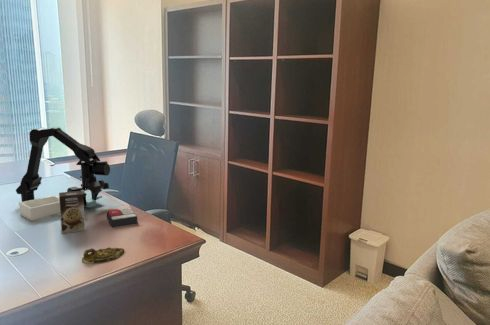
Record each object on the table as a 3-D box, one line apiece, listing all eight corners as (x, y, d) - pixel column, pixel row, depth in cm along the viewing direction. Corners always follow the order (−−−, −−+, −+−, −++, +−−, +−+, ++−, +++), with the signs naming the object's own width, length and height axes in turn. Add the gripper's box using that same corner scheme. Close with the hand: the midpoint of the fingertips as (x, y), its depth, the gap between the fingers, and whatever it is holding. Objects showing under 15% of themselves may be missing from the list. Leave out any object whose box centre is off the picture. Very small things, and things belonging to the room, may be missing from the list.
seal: (118, 249, 145) (78, 260, 135) (118, 238, 144) (77, 247, 134) (129, 256, 138) (87, 267, 128) (128, 243, 137) (85, 254, 127)
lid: (58, 202, 187) (58, 197, 187) (89, 195, 200) (89, 191, 199) (76, 210, 177) (75, 205, 176) (107, 202, 189) (107, 198, 189)
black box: (130, 206, 180) (137, 215, 167) (130, 215, 181) (137, 224, 168) (106, 209, 175) (111, 218, 162) (106, 218, 176) (112, 228, 163)
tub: (20, 214, 174) (19, 202, 173) (55, 206, 186) (54, 195, 185) (31, 221, 167) (30, 208, 165) (67, 212, 179) (66, 200, 178)
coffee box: (61, 234, 154) (58, 196, 151) (61, 228, 160) (58, 192, 156) (85, 230, 159) (83, 194, 155) (84, 225, 164) (82, 189, 161)
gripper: (77, 180, 169) (79, 213, 172) (114, 173, 183) (115, 204, 186) (65, 176, 176) (67, 208, 179) (102, 170, 190) (103, 199, 193)
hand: (89, 204), depth 184 cm, fingers closed on lid, 4 cm apart
